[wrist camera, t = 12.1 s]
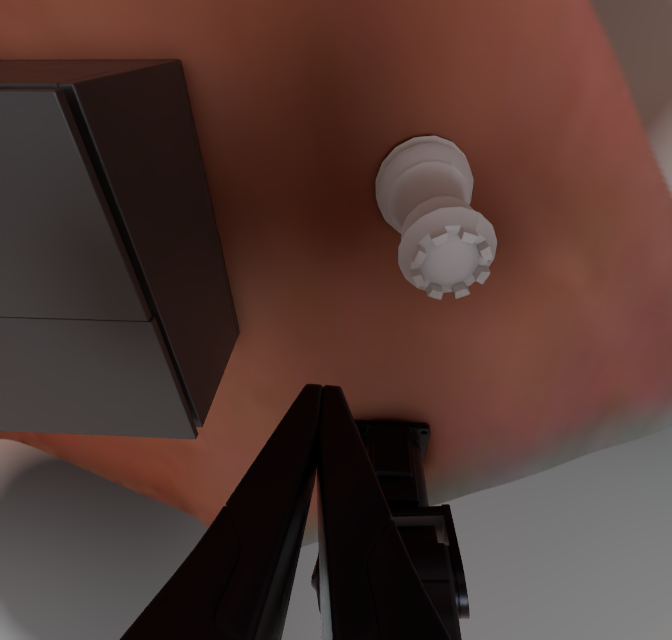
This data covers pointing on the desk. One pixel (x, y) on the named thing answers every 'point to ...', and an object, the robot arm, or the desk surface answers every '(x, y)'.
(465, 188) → the rook chess piece
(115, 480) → the desk surface
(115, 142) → the carton
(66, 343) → the flap
